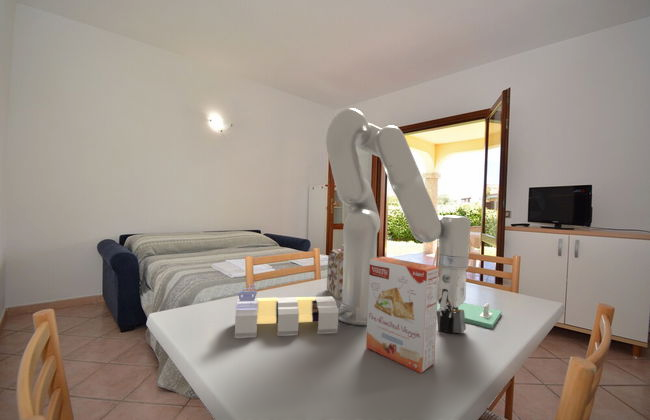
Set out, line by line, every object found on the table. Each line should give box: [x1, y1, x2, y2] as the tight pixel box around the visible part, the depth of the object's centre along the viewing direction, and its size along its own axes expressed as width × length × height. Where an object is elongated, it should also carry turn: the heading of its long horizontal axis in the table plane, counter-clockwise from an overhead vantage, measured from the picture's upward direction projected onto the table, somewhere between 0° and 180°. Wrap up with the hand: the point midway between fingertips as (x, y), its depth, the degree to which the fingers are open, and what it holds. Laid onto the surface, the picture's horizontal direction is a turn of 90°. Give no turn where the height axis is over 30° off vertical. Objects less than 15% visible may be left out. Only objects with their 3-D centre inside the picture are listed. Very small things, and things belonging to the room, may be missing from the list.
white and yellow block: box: [234, 283, 339, 339], centre depth 78 cm, size 25×10×13 cm, turn 102°
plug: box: [436, 308, 467, 334], centre depth 81 cm, size 4×6×5 cm, turn 51°
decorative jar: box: [326, 243, 344, 300], centre depth 111 cm, size 12×12×18 cm
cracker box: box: [365, 256, 440, 374], centre depth 66 cm, size 14×6×21 cm, turn 45°
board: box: [437, 301, 502, 330], centre depth 95 cm, size 15×19×4 cm
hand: (448, 328), depth 82 cm, fingers closed on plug, 3 cm apart
